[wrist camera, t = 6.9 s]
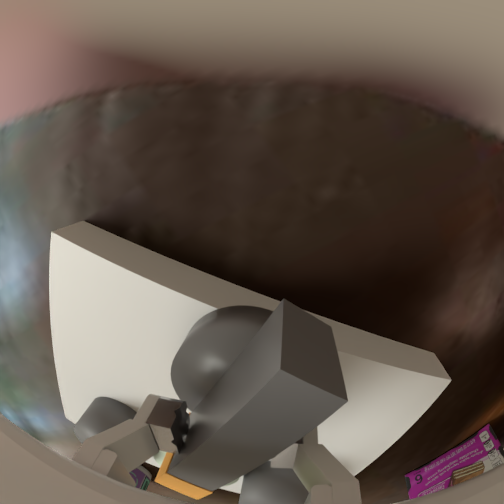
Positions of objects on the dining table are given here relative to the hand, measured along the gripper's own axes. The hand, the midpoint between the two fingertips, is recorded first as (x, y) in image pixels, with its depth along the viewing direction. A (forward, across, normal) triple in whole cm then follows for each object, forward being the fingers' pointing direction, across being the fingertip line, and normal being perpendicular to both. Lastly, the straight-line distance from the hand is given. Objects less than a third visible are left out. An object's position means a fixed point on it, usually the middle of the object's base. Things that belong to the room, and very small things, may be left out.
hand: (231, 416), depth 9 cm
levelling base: (+7, -2, -6) cm, 9 cm away
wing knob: (+4, 0, 0) cm, 4 cm away
